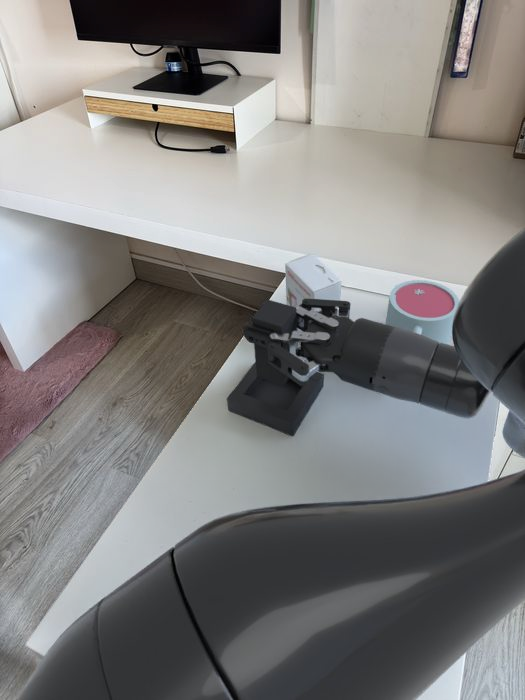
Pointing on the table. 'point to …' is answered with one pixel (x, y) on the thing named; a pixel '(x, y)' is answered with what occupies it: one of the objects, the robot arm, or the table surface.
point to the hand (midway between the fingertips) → (254, 319)
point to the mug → (423, 309)
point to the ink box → (310, 281)
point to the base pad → (274, 400)
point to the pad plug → (278, 321)
